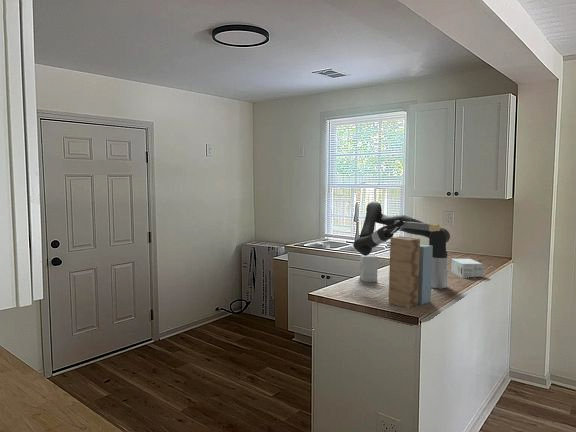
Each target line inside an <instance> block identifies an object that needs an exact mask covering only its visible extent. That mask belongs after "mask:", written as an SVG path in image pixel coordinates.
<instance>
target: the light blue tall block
mask: <svg viewBox="0 0 576 432" xmlns="http://www.w3.org/2000/svg"><path fill="white" fill-rule="evenodd" d="M432 253H433V246H430V245H429V244H422V243H420V258H419V287H418V303H419V304H420V305H425V304H424V303H426V304H428V302H430V303H431V301H432V287H431V279H432ZM419 304H418V305H419Z"/></svg>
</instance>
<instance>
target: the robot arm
mask: <svg viewBox="0 0 576 432" xmlns="http://www.w3.org/2000/svg"><path fill="white" fill-rule="evenodd" d="M365 210H366V211H365V212H366V214H365V219H364V222H363V225H362V228H361V231H360V234H359V238H357V239H356V240H355V241H354V242H353V244H352V247H353V249H355V250H356V251H357V252H358V253H360V254H361V255H364V256H367V255H371V253H372V250H373V248H376V247H377V246H379V245H381V244H385V243H386V242H387V241H389V240H390V237H394V234H396V233H397V232H404V233H407V234H411V235H415V236H421V237H425V238H428V239H429V240H428V245H430V246H433V253H432V279H431V289H437V288H438V290H439V289H441V290H442V289H443V288H444V289H446V288H447V287H448V271H449V270H448V252H447V243H448V242H449V241H450V239H451V235H450V232H449V231H448V230H447V229H446V228H444V227H440V231H427V230H419V229H410V228H402V227H399V226H401V225H403V224H404V222H403V221H407V222H417V223H424V222H423V221H421V220H419V219H416V218H413V217H410V216H407V215H404V214H398V215H393V216H390V215H386V214H384V213H382V212H383V211H382V210H383V209H382V205H381V203H379V202H378V201H371V202H369V203H368V204H367V205H366V209H365ZM395 221H399V222H397V223H395ZM375 224H380V225H383V226H382V227H379V228H378V229H376V230H375V226H376V225H375Z"/></svg>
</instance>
